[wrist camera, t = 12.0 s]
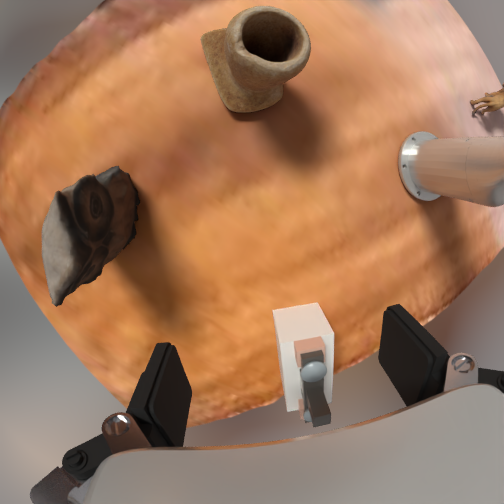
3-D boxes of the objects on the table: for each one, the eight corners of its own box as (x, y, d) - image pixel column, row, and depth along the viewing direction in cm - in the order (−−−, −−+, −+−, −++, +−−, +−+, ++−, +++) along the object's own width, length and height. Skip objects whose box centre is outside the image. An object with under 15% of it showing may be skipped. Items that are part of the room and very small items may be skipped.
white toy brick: (317, 302, 46) (339, 343, 35) (319, 368, 51) (334, 412, 39) (272, 309, 47) (281, 354, 35) (280, 375, 51) (289, 421, 39)
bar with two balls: (320, 341, 37) (337, 381, 28) (320, 405, 41) (332, 443, 33) (295, 345, 37) (307, 388, 28) (300, 409, 41) (309, 448, 33)
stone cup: (300, 102, 37) (330, 71, 22) (225, 121, 37) (216, 94, 23) (272, 26, 32) (284, -26, 18) (200, 42, 33) (184, -8, 19)
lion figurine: (488, 82, 34) (513, 78, 25) (498, 102, 35) (523, 99, 26) (465, 104, 36) (494, 99, 27) (476, 126, 37) (505, 124, 29)
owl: (131, 162, 38) (55, 163, 19) (166, 231, 42) (113, 280, 23) (77, 202, 40) (-3, 227, 20) (109, 264, 43) (44, 320, 24)
